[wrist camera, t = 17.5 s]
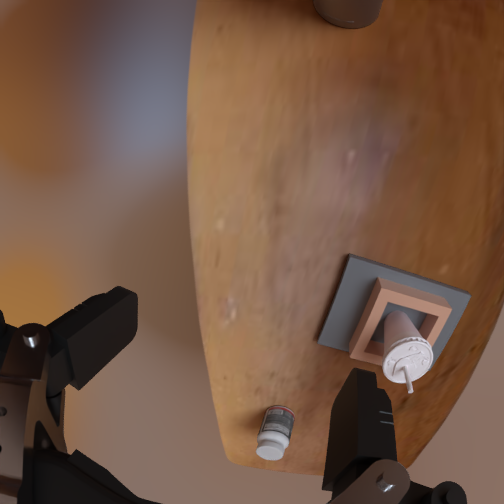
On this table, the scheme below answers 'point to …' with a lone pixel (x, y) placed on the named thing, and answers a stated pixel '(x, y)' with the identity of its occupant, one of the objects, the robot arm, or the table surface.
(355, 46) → the table surface
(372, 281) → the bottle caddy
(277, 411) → the pill bottle
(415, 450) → the table surface
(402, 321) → the smoothie
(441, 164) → the table surface
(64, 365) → the robot arm
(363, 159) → the table surface
